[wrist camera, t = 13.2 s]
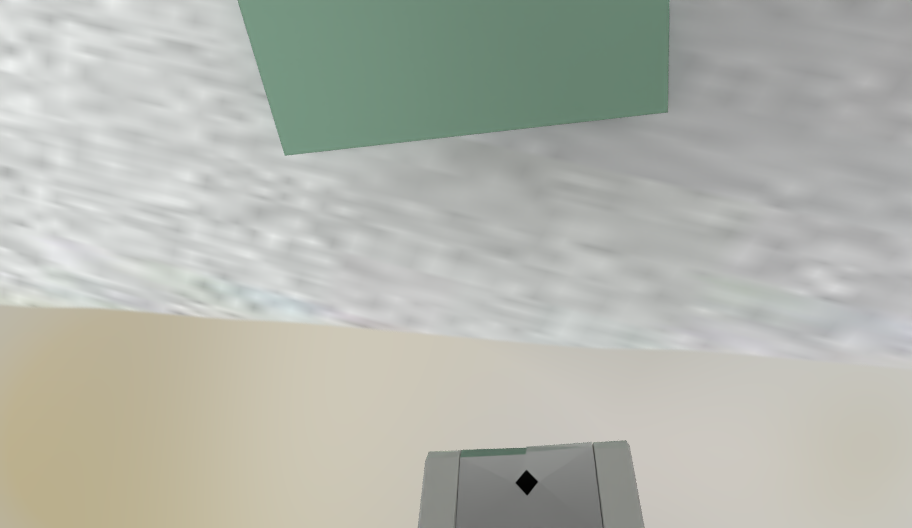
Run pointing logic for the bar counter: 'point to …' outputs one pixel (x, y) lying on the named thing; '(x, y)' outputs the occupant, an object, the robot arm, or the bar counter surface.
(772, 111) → the bar counter surface
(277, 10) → the board
